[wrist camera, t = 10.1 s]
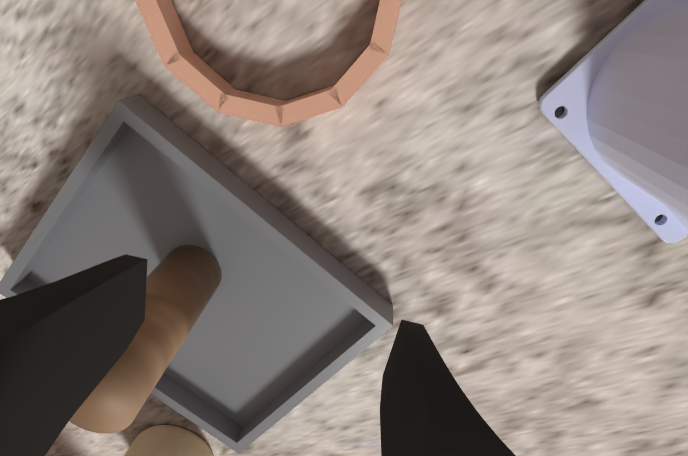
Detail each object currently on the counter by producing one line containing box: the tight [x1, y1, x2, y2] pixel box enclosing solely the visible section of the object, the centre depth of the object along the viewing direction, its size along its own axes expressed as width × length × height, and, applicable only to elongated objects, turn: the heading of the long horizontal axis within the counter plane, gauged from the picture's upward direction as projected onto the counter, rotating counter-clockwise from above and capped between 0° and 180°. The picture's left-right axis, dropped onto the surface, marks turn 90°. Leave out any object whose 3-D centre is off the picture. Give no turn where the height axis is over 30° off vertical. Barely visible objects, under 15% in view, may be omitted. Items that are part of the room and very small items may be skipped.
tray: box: [0, 95, 393, 453], centre depth 24 cm, size 16×13×2 cm
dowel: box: [69, 245, 222, 433], centre depth 20 cm, size 3×3×9 cm
